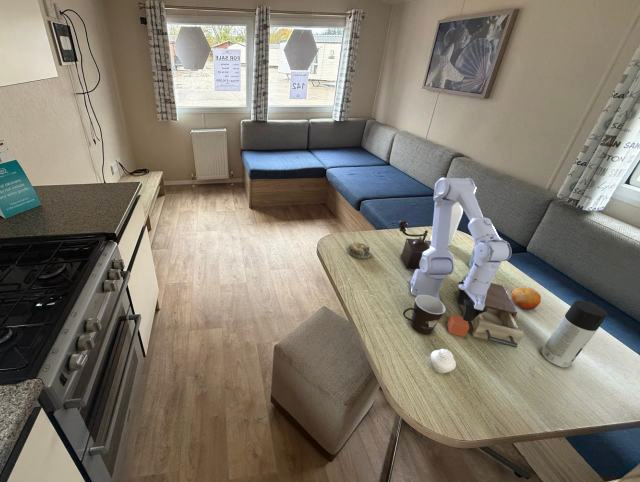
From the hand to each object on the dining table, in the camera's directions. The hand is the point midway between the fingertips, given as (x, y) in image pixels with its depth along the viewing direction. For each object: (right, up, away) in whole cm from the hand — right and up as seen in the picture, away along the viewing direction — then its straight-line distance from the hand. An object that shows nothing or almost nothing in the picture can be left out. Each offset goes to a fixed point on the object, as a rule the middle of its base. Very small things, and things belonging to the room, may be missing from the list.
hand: (464, 311), depth 96 cm
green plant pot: (+30, +8, +35) cm, 47 cm away
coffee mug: (-13, -6, +5) cm, 15 cm away
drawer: (+10, -7, +3) cm, 13 cm away
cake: (-19, +14, +43) cm, 49 cm away
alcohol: (+24, +18, +53) cm, 61 cm away
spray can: (+24, -13, -5) cm, 27 cm away
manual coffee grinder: (+1, +11, +37) cm, 39 cm away
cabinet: (+14, -3, +12) cm, 19 cm away
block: (0, -7, +4) cm, 8 cm away
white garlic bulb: (-13, -14, -9) cm, 21 cm away
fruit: (+31, -2, +15) cm, 35 cm away
